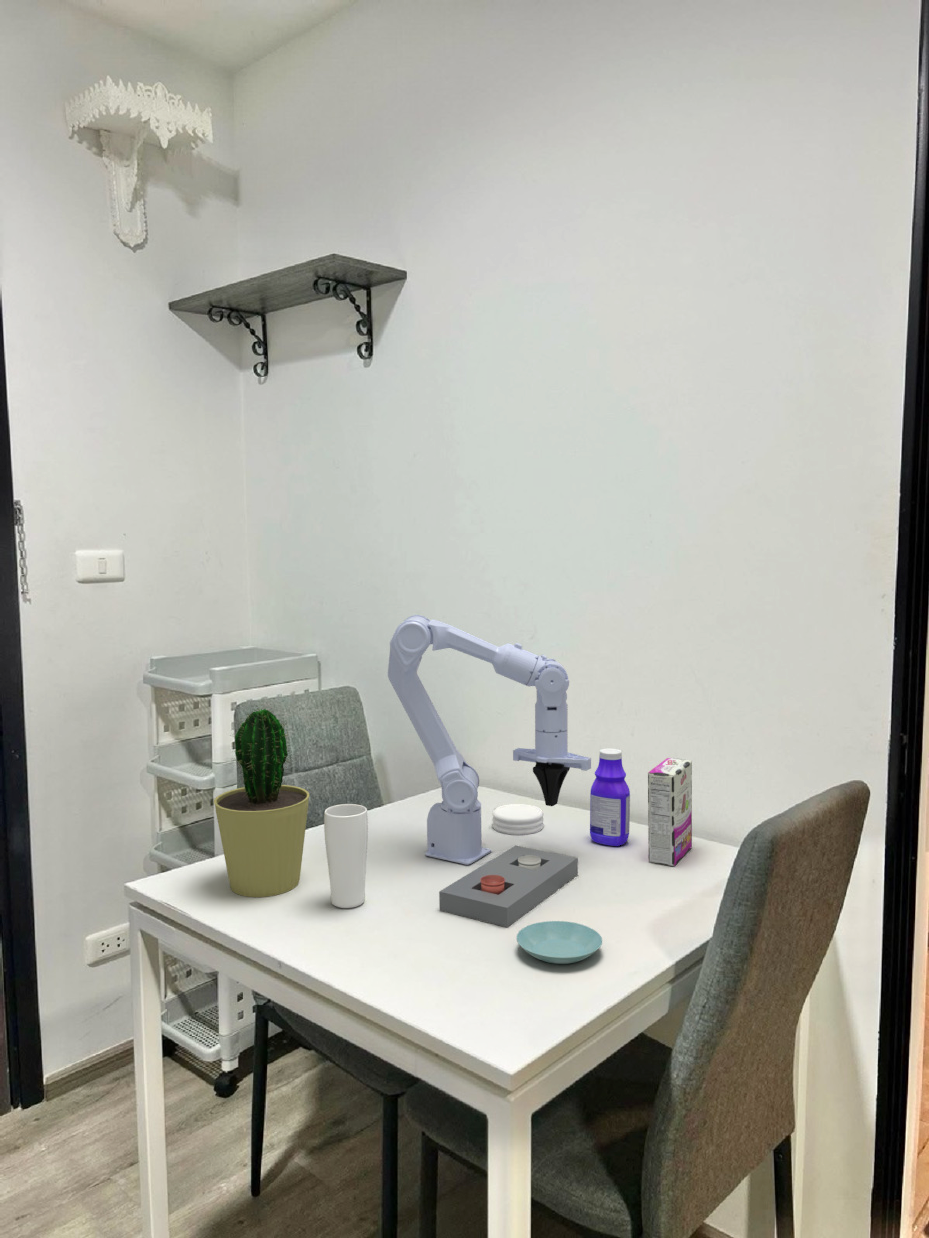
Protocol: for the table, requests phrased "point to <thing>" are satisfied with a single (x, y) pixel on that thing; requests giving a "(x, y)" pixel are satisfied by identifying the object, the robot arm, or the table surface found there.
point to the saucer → (559, 941)
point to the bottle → (610, 800)
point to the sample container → (529, 862)
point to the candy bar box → (670, 811)
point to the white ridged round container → (518, 819)
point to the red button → (492, 884)
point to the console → (508, 886)
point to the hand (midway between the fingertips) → (551, 804)
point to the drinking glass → (346, 853)
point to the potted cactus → (262, 813)
